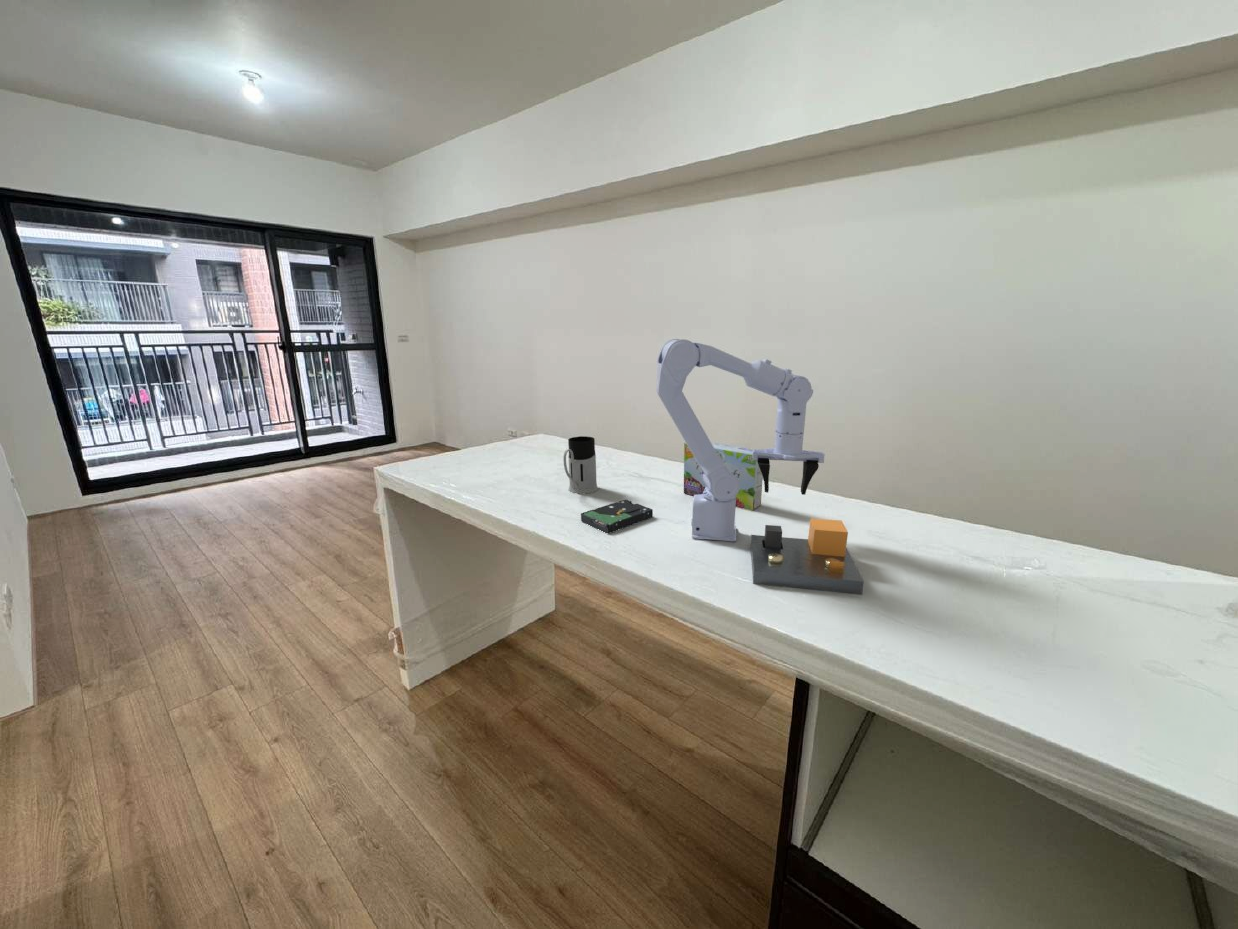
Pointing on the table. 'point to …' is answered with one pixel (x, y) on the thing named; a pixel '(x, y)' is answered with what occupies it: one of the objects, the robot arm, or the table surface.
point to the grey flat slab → (803, 567)
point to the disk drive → (616, 516)
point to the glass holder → (581, 464)
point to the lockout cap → (827, 537)
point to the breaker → (773, 537)
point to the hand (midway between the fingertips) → (784, 492)
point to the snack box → (737, 464)
